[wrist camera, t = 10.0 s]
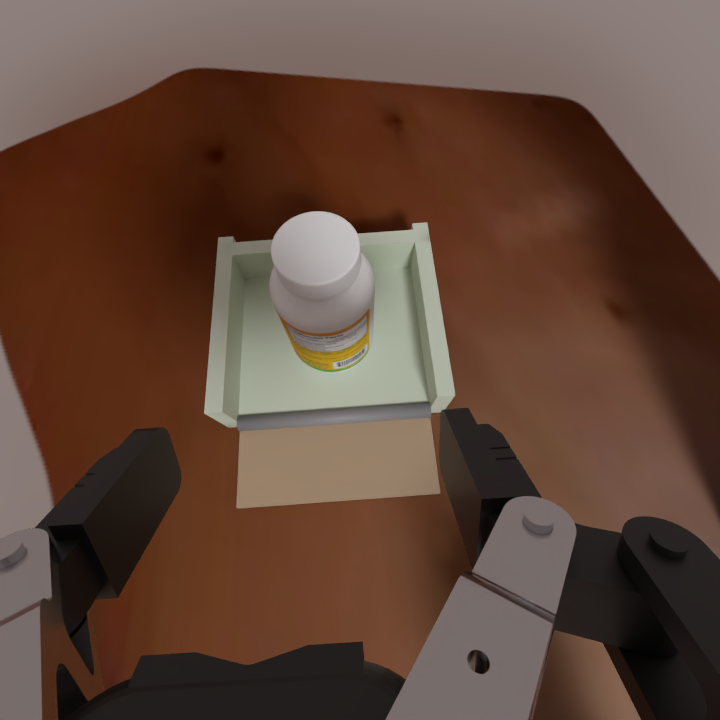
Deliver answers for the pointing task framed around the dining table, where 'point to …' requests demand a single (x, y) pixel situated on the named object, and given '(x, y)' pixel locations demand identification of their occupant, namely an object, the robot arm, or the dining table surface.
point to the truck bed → (330, 382)
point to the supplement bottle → (323, 291)
